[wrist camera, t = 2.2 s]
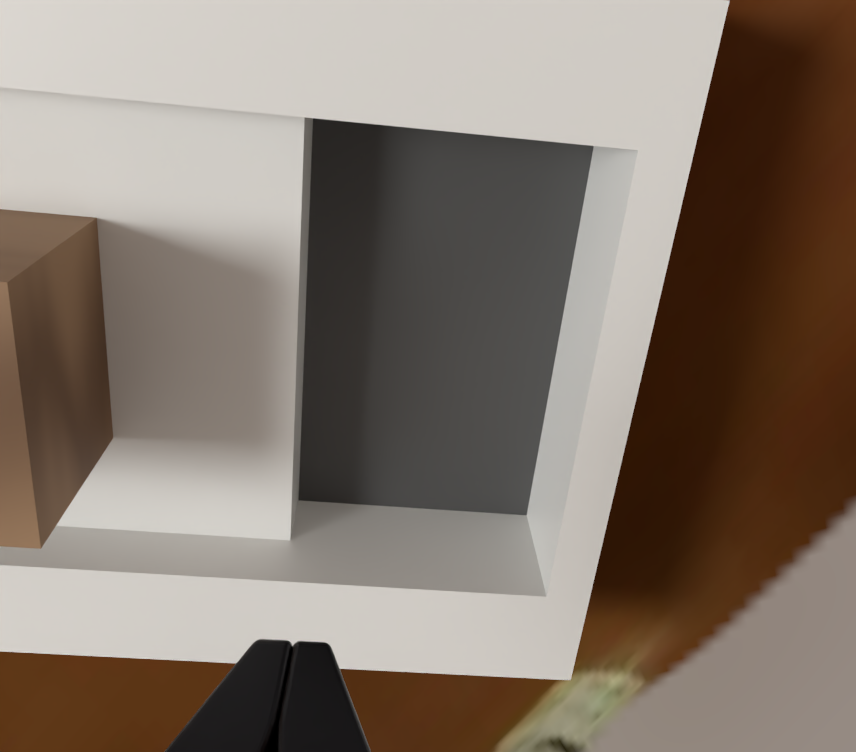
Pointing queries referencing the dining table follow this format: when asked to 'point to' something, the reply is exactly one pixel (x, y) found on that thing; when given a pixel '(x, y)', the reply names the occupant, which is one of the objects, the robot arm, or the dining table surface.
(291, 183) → the box
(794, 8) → the dining table surface
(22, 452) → the walnut block
